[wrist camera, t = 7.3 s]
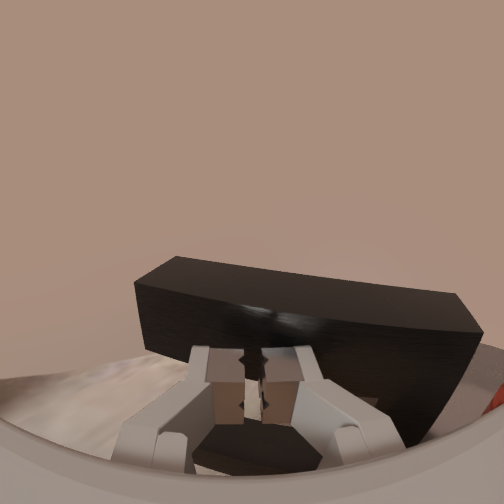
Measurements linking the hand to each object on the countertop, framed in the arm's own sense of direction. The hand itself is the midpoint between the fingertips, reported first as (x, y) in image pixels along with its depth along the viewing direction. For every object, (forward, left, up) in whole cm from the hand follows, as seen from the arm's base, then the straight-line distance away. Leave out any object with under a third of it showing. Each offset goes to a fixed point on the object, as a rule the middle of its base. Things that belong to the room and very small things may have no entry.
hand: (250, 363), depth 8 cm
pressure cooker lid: (+5, +7, -6) cm, 11 cm away
